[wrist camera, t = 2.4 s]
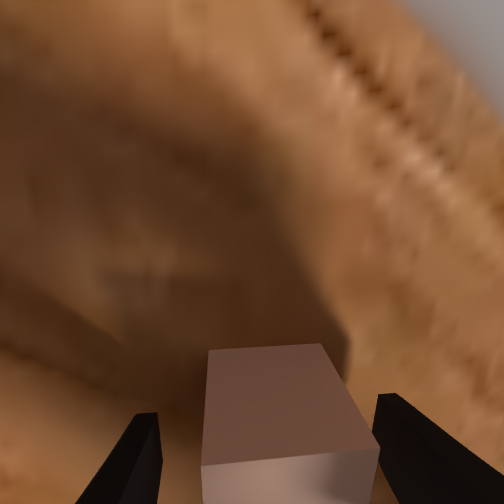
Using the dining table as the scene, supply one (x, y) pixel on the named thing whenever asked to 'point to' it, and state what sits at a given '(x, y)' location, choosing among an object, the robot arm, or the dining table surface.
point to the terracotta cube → (283, 430)
